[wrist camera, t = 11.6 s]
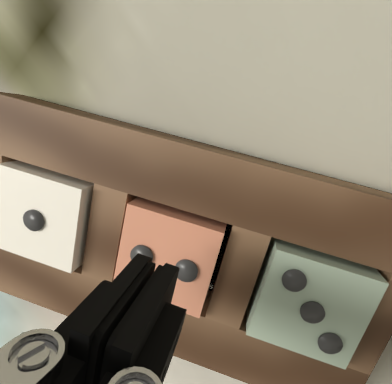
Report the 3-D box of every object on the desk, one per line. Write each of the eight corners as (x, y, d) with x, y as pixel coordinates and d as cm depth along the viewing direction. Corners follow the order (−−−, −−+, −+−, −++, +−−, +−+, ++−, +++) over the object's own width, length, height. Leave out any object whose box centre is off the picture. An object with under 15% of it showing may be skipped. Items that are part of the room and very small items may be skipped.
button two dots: (148, 189, 17) (125, 204, 14) (229, 213, 16) (224, 234, 13) (134, 261, 18) (110, 289, 15) (207, 286, 17) (198, 320, 14)
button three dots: (272, 226, 16) (277, 250, 13) (363, 253, 15) (390, 285, 12) (247, 299, 17) (245, 336, 14) (329, 326, 16) (346, 372, 13)
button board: (22, 94, 17) (-16, 90, 14) (421, 201, 14) (456, 217, 12) (12, 264, 20) (-21, 283, 18) (332, 378, 17) (345, 419, 15)
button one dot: (38, 157, 18) (-6, 163, 15) (110, 178, 17) (80, 190, 14) (32, 227, 19) (-9, 247, 16) (99, 250, 18) (69, 274, 15)
